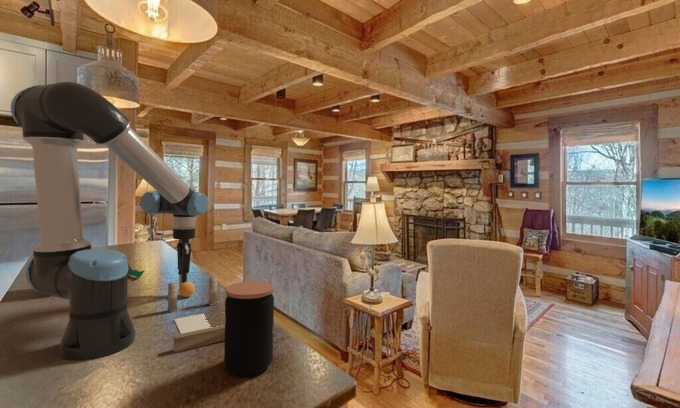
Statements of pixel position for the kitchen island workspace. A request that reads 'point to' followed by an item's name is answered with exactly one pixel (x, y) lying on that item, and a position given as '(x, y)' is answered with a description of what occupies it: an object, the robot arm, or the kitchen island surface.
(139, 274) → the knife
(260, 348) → the coffee jar
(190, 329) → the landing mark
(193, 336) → the stopper wall
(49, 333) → the kitchen island surface
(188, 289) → the ball
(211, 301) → the post right
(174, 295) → the post left
